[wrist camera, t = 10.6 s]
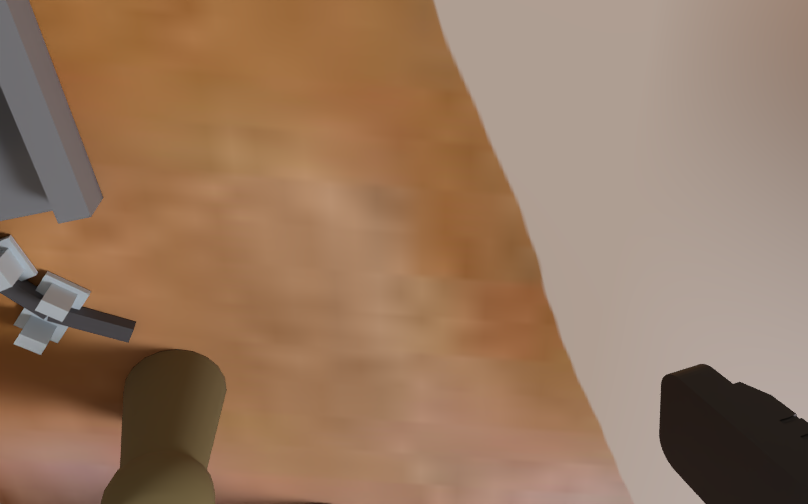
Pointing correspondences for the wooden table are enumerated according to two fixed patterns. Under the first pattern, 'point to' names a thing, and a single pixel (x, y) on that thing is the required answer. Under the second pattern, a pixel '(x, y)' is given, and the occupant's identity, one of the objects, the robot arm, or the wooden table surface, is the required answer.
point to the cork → (168, 430)
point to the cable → (73, 314)
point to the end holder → (38, 129)
